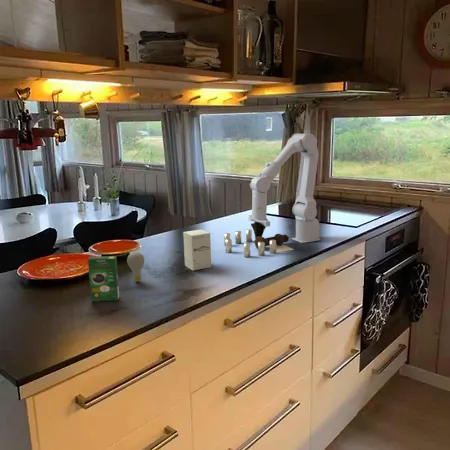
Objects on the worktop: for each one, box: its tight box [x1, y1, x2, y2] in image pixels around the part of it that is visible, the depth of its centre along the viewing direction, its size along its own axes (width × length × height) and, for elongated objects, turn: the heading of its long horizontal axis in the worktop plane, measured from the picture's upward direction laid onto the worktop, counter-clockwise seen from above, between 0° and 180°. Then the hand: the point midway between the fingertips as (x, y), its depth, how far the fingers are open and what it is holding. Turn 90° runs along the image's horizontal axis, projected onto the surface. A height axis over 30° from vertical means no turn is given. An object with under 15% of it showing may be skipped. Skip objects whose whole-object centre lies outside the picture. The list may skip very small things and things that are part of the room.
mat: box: [265, 243, 295, 253], centre depth 186 cm, size 7×20×1 cm, turn 24°
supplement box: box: [182, 229, 212, 271], centre depth 161 cm, size 7×7×13 cm
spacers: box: [223, 229, 277, 258], centre depth 181 cm, size 16×22×5 cm
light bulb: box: [126, 251, 145, 283], centre depth 147 cm, size 6×6×10 cm
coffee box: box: [87, 255, 120, 303], centre depth 133 cm, size 8×3×13 cm, turn 93°
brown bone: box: [254, 233, 290, 250], centre depth 184 cm, size 6×5×15 cm
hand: (258, 240), depth 183 cm, fingers closed, pressing on brown bone
